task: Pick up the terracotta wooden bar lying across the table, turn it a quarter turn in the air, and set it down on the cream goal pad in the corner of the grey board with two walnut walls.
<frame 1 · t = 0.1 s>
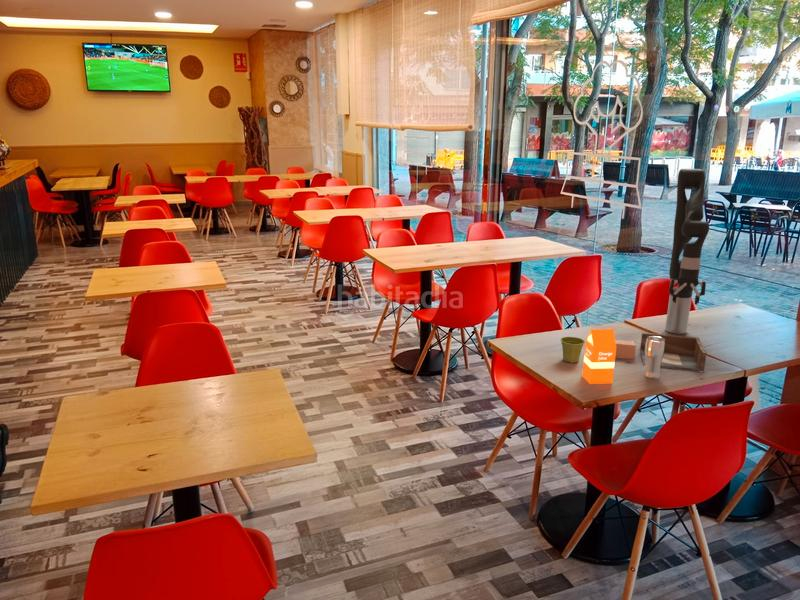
hand: (685, 303, 269), 17 cm above the table, tool pointing down, fingers open, 8 cm apart
terracotta bar: (621, 355, 255), on the table
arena: (670, 360, 250), on the table
plant pot: (570, 360, 250), on the table
beer glass: (651, 376, 235), on the table
orange juice: (596, 379, 231), on the table
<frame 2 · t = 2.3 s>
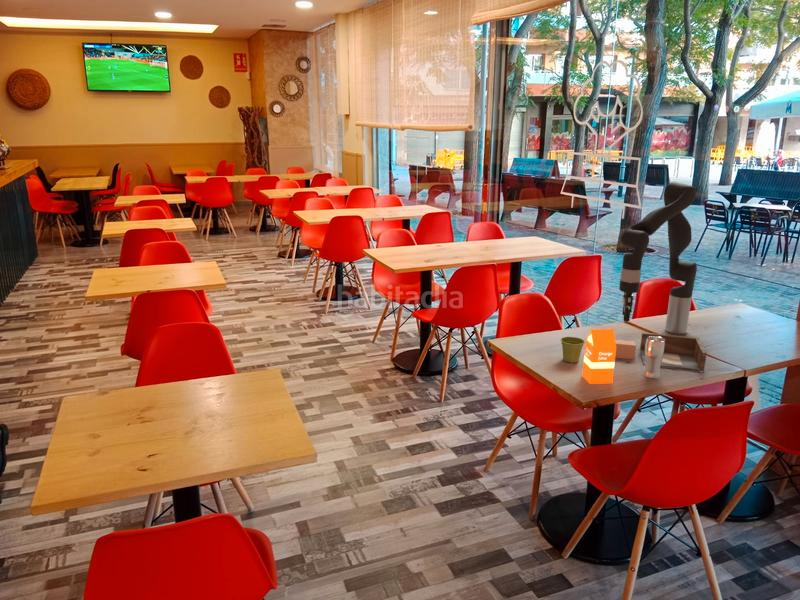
hand: (625, 318, 251), 16 cm above the table, tool pointing down, fingers open, 8 cm apart
nothing on the table moved.
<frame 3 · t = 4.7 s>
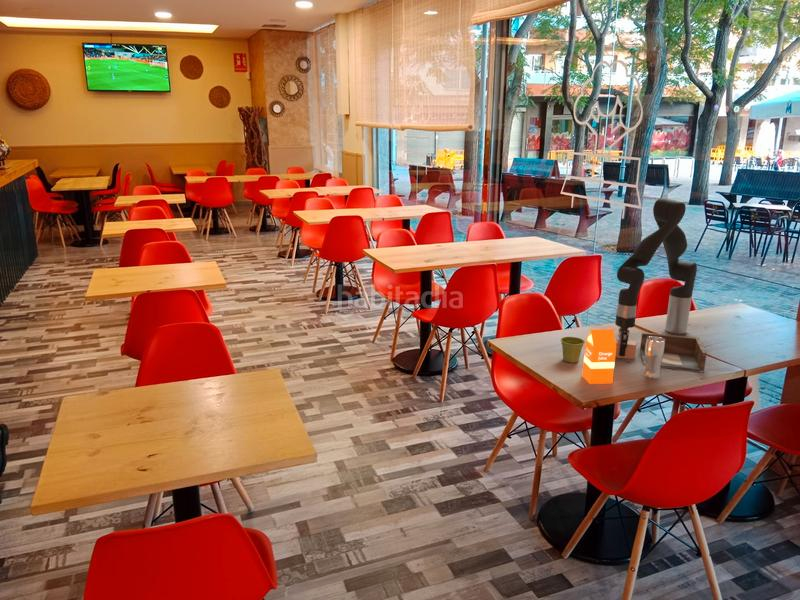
hand: (621, 353, 255), 1 cm above the table, tool pointing down, fingers closed on terracotta bar, 5 cm apart
terracotta bar: (621, 355, 255), on the table, touching gripper
everything else where it was.
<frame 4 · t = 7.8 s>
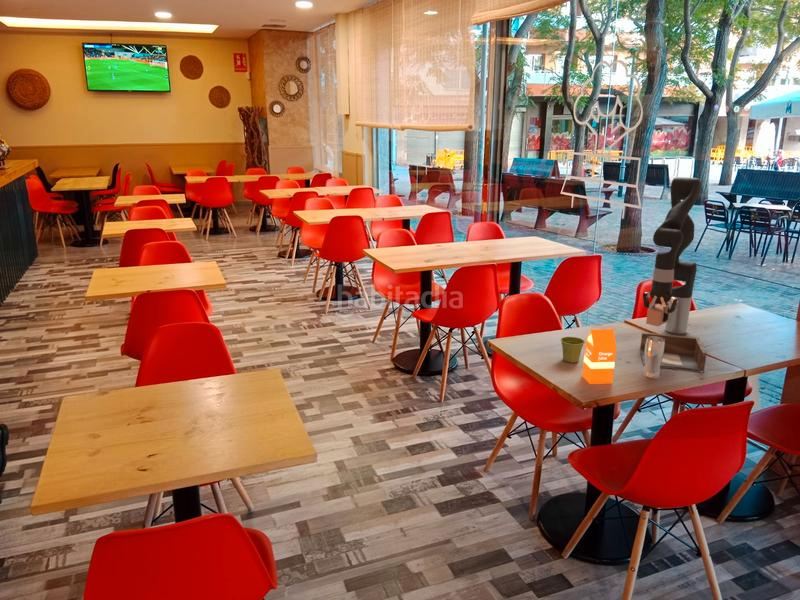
hand: (657, 319, 247), 17 cm above the table, tool pointing down, fingers closed on terracotta bar, 5 cm apart
terracotta bar: (657, 322, 247), point 16 cm above the table, touching gripper
everything else where it was.
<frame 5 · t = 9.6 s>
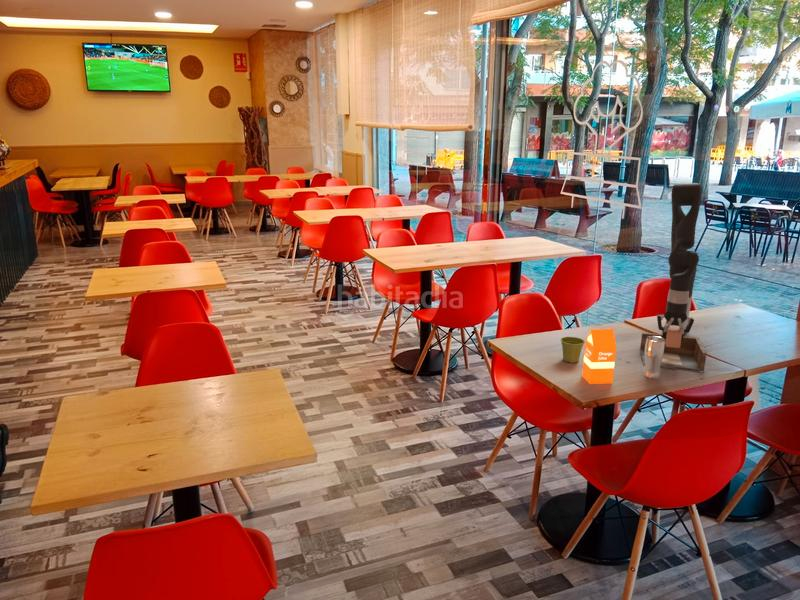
hand: (672, 340, 247), 9 cm above the table, tool pointing down, fingers closed on terracotta bar, 5 cm apart
terracotta bar: (671, 343, 247), point 8 cm above the table, touching gripper
everything else where it was.
when the fingers open (4 cm above the table, at t = 11.2 s): terracotta bar drops 1 cm, resting on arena.
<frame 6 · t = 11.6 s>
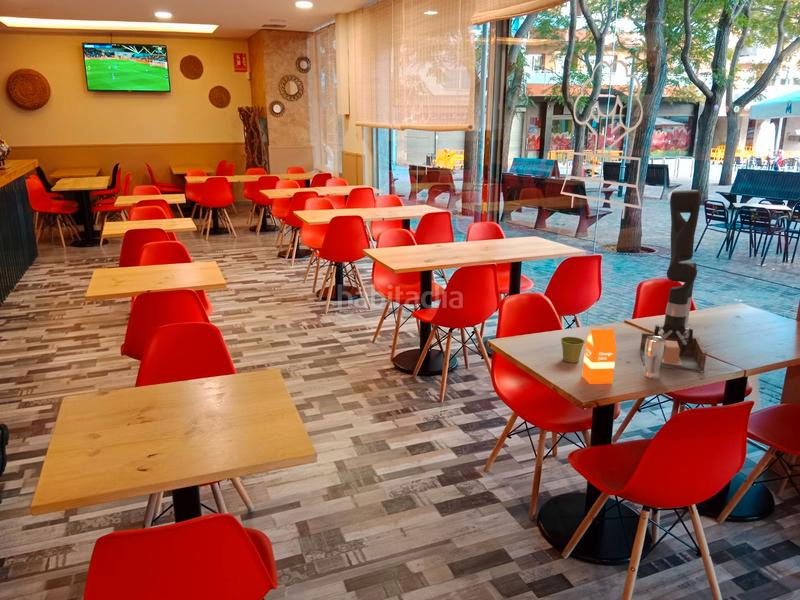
hand: (670, 351, 248), 4 cm above the table, tool pointing down, fingers open, 8 cm apart
terracotta bar: (669, 358, 249), point 1 cm above the table, touching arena
everything else where it was.
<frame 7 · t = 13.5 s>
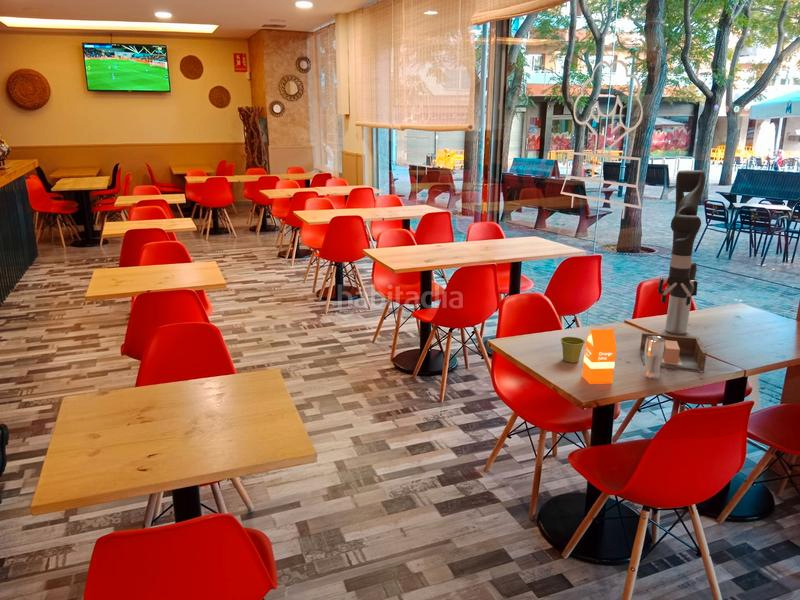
hand: (675, 304, 249), 23 cm above the table, tool pointing down, fingers open, 8 cm apart
nothing on the table moved.
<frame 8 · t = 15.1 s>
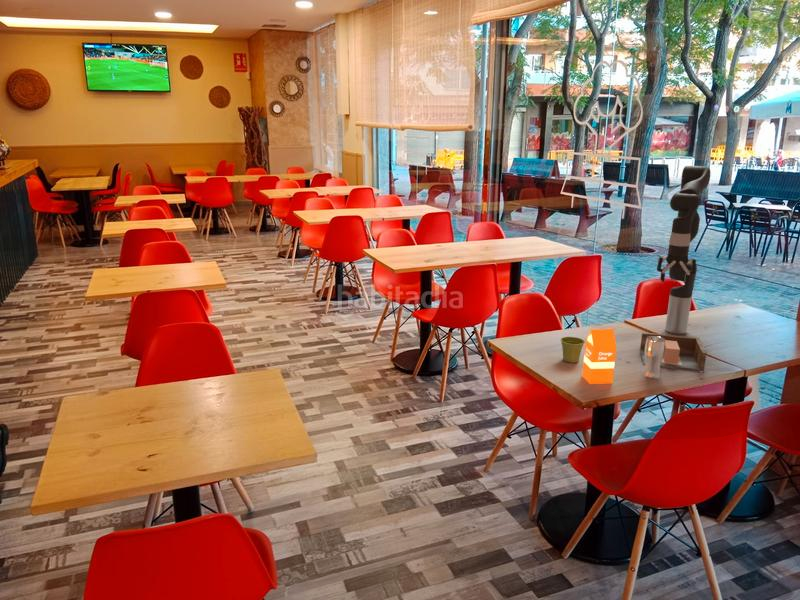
hand: (674, 282, 252), 30 cm above the table, tool pointing down, fingers open, 8 cm apart
nothing on the table moved.
at the end: terracotta bar inside the target area on the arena (0.1 cm from its centre), point 1.2 cm above the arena's base; terracotta bar tilted 0°; the gripper is holding nothing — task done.
